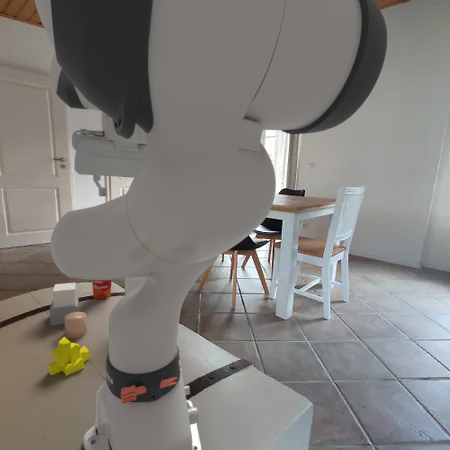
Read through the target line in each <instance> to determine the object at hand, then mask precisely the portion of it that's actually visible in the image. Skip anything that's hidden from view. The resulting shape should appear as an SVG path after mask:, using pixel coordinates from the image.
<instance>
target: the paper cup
mask: <svg viewBox="0 0 450 450" xmlns="http://www.w3.org/2000/svg"><path fill="white" fill-rule="evenodd" d="M112 281H113V280H91V283H92V293H93V294H92V295H93V299H95V300H105V299H106V300H107V299H109V298H110V297H111V294H112Z"/></svg>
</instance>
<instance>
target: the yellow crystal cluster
mask: <svg viewBox="0 0 450 450" xmlns="http://www.w3.org/2000/svg"><path fill="white" fill-rule="evenodd" d="M80 346H81V345H80V344H79V343H76V342H75V343H74V342H72V341H71V340H69V338H66V337H65V336H63V337H62V338H61V339H60V340H59V341H58V343H57V347H55V348H54V349H53V351H52V352H51V353H50V354H49V356H50V357H51V359H55V360H54V361H52V362H49V364H48V373H49V372H50V373H49V374H50V375H53V376H55V375H57V374H59V372H60V373H62V372H63V373H65V374H64V375H65V376H69V374H70V375H71V373H72V374H74V373H76V372H79V371H80V370H83V369H85V362H87V361H89V360H90V350H89V349H88V348H87V346H85V345H83V346H82V347H80ZM61 371H62V372H61ZM56 373H57V374H56ZM54 374H55V375H54Z"/></svg>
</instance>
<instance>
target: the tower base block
mask: <svg viewBox="0 0 450 450" xmlns="http://www.w3.org/2000/svg"><path fill="white" fill-rule="evenodd" d="M79 310H80V309H79V296H76V305H75V306H66V307H58V308H54V307H53V299H51V304H50V307H49V323H50V324H49V326H51V327H52V326H58V325H65V316H66V315H68V314H70V313H73V312H80V311H79Z"/></svg>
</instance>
